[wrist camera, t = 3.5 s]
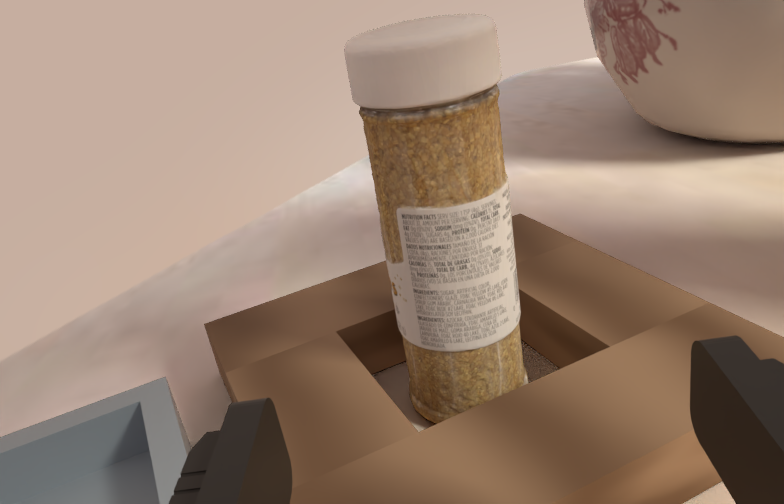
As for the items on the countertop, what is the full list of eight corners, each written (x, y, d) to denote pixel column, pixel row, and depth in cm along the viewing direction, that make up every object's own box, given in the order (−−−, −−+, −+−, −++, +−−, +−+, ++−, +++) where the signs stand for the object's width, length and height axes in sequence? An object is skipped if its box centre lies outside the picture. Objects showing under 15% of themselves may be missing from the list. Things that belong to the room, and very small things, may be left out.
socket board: (524, 258, 35) (520, 213, 34) (821, 425, 21) (829, 358, 20) (220, 372, 30) (203, 324, 29) (352, 688, 16) (331, 617, 15)
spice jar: (420, 361, 28) (361, 24, 23) (532, 358, 27) (499, 3, 21) (400, 436, 24) (322, 48, 19) (531, 436, 23) (490, 24, 17)
